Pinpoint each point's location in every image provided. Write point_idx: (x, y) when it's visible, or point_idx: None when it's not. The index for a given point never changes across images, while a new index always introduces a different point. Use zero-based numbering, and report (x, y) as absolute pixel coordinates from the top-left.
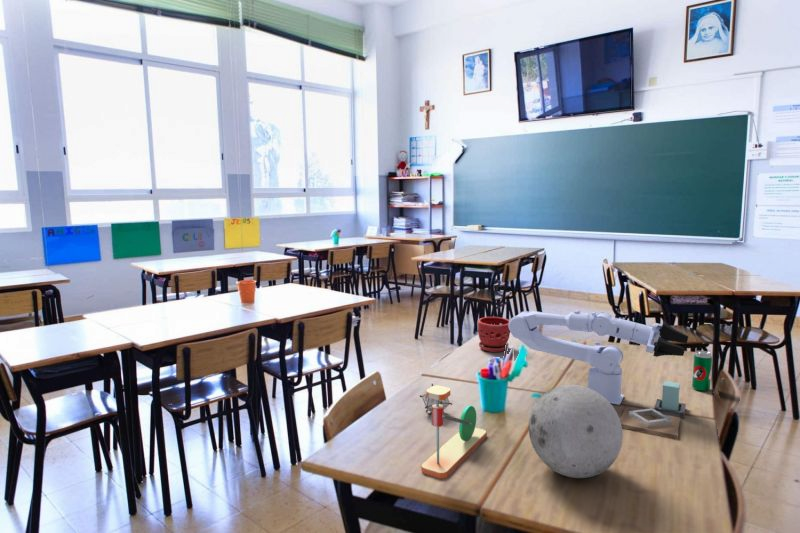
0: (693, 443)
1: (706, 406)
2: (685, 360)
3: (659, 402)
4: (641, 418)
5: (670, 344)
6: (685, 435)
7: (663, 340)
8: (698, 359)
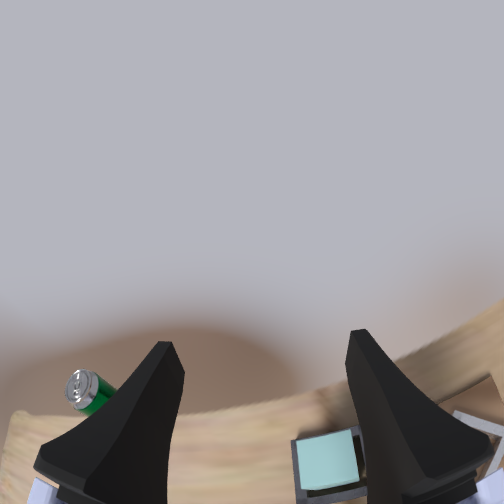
0: (479, 351)
1: (246, 407)
2: (30, 437)
3: (324, 496)
4: (501, 454)
5: (411, 393)
6: (459, 379)
7: (433, 439)
8: (98, 403)
